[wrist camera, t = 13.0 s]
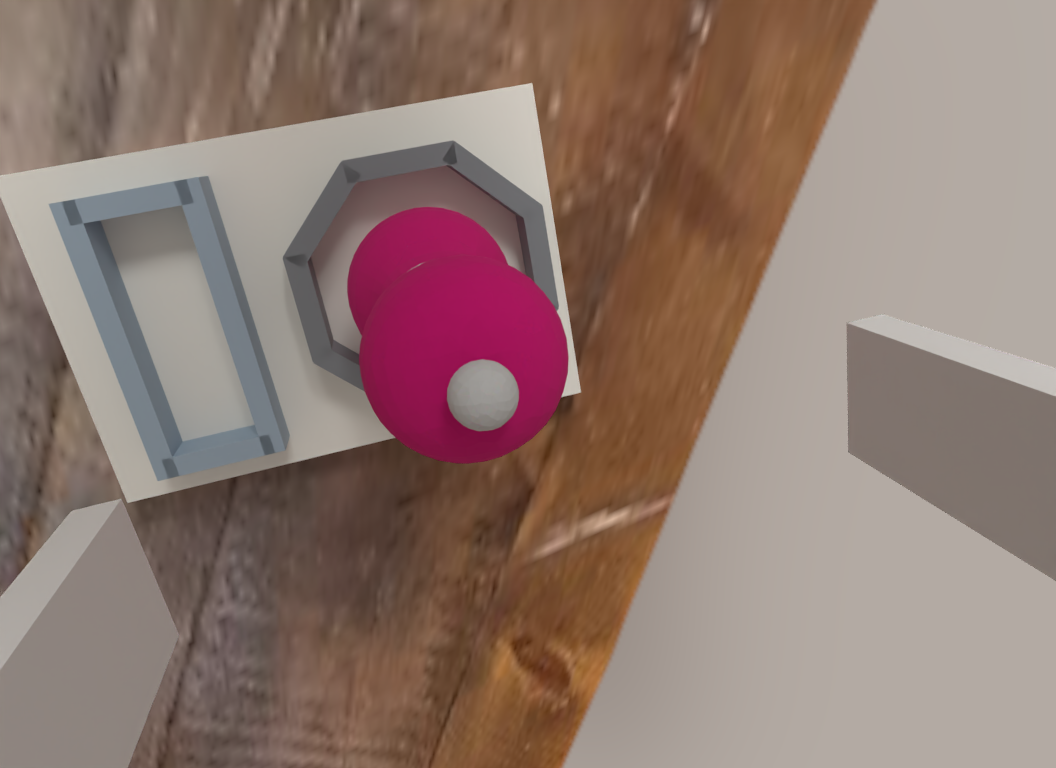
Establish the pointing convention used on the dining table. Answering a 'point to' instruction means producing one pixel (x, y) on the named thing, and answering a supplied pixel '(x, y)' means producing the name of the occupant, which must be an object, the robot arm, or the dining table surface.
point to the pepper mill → (453, 338)
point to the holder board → (260, 274)
